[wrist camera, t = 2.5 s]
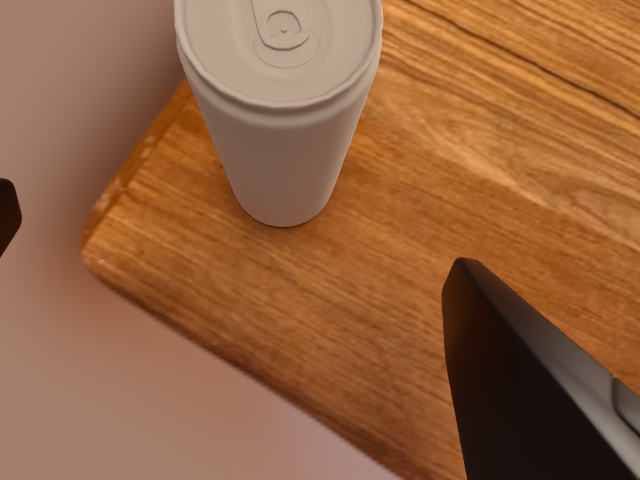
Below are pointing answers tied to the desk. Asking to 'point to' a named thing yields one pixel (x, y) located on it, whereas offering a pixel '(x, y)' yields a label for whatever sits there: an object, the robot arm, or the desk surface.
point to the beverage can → (280, 93)
